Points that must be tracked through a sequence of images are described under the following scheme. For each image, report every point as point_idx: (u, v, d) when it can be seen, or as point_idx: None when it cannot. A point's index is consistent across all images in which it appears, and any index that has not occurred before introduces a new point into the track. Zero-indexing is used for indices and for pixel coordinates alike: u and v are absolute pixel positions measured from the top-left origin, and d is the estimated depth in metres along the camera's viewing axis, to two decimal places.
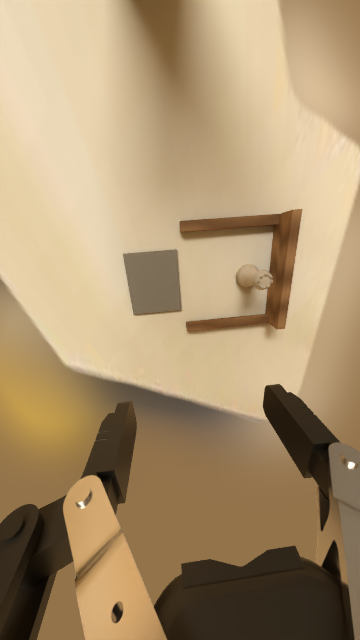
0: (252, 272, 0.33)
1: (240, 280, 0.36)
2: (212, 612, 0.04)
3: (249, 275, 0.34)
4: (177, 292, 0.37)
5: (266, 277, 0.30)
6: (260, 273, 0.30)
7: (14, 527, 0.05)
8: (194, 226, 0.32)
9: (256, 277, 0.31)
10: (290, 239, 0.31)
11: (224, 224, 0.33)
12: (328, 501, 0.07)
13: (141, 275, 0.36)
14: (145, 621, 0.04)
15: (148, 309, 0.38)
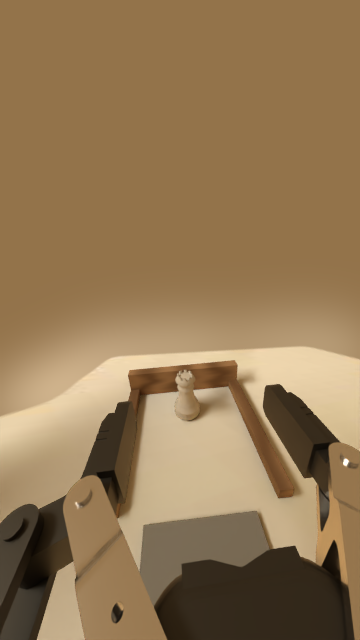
0: (180, 396, 0.30)
1: (191, 411, 0.30)
2: (212, 612, 0.04)
3: (183, 398, 0.30)
4: (222, 521, 0.19)
5: (181, 375, 0.30)
6: (177, 381, 0.29)
7: (13, 528, 0.05)
8: None
9: (181, 383, 0.28)
10: (151, 372, 0.35)
11: None
12: (328, 501, 0.07)
13: None
14: (145, 621, 0.04)
15: None
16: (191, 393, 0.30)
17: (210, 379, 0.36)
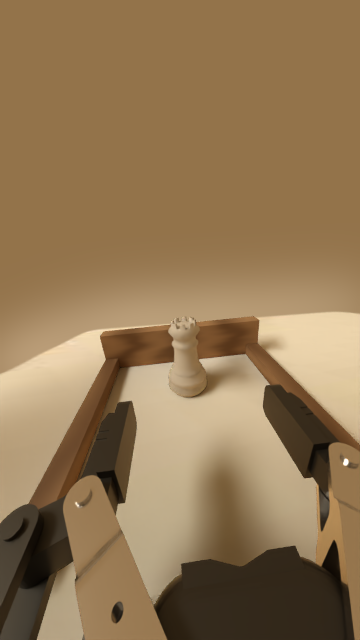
0: (176, 357, 0.19)
1: (195, 382, 0.19)
2: (212, 612, 0.04)
3: (181, 360, 0.19)
4: None
5: (177, 323, 0.19)
6: (171, 331, 0.18)
7: (14, 528, 0.05)
8: None
9: (178, 333, 0.17)
10: (134, 332, 0.24)
11: (83, 424, 0.15)
12: (328, 501, 0.07)
13: None
14: (145, 621, 0.04)
15: None
16: (194, 352, 0.19)
17: (220, 343, 0.25)
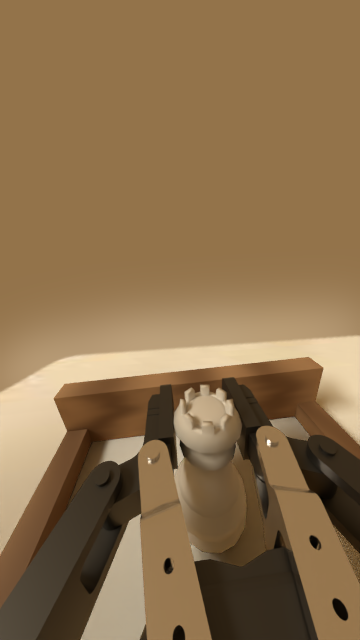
0: (189, 472, 0.09)
1: (228, 526, 0.09)
2: (212, 612, 0.04)
3: (201, 484, 0.09)
4: None
5: (192, 406, 0.09)
6: (181, 430, 0.08)
7: (103, 477, 0.06)
8: None
9: (197, 443, 0.07)
10: (114, 389, 0.14)
11: None
12: (264, 483, 0.08)
13: None
14: (190, 592, 0.04)
15: None
16: (227, 465, 0.09)
17: None
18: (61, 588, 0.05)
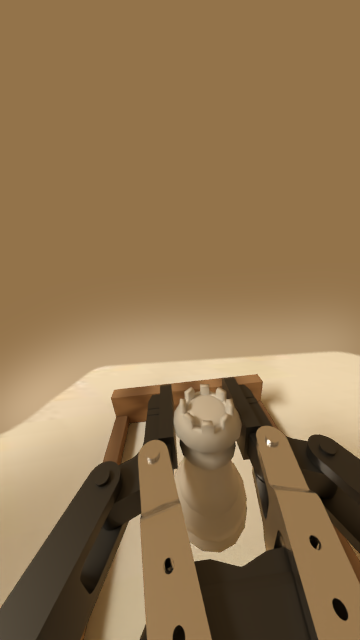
0: (188, 471, 0.09)
1: (228, 525, 0.09)
2: (212, 612, 0.04)
3: (201, 483, 0.09)
4: None
5: (192, 406, 0.09)
6: (181, 429, 0.08)
7: (103, 477, 0.06)
8: None
9: (197, 442, 0.07)
10: (143, 393, 0.25)
11: None
12: (263, 483, 0.08)
13: None
14: (190, 591, 0.04)
15: None
16: (227, 465, 0.09)
17: None
18: (61, 588, 0.05)
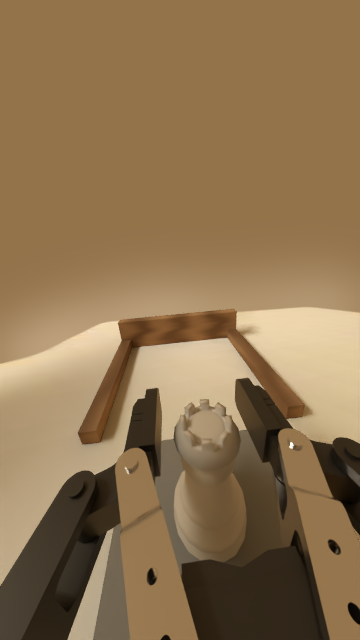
0: (189, 485, 0.10)
1: (228, 538, 0.09)
2: (212, 612, 0.04)
3: (201, 497, 0.09)
4: None
5: (192, 422, 0.09)
6: (182, 446, 0.08)
7: (76, 488, 0.06)
8: (98, 409, 0.19)
9: (197, 460, 0.08)
10: (143, 320, 0.32)
11: (113, 375, 0.24)
12: (283, 486, 0.08)
13: None
14: (175, 597, 0.04)
15: None
16: (227, 479, 0.09)
17: (207, 328, 0.34)
18: (34, 611, 0.04)
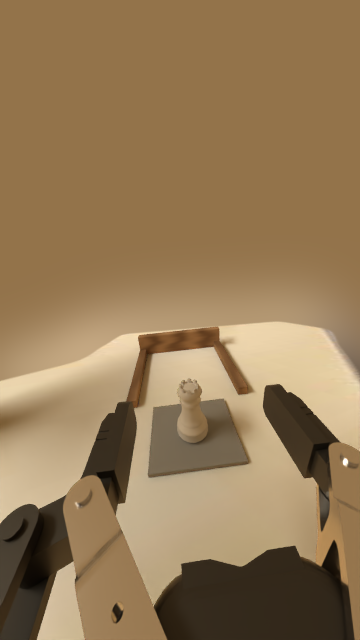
0: (183, 412, 0.24)
1: (198, 432, 0.24)
2: (212, 612, 0.04)
3: (187, 415, 0.24)
4: (201, 403, 0.31)
5: (184, 386, 0.24)
6: (180, 394, 0.23)
7: (13, 528, 0.05)
8: (134, 390, 0.34)
9: (185, 397, 0.22)
10: (155, 335, 0.47)
11: (139, 372, 0.39)
12: (328, 501, 0.07)
13: (181, 446, 0.24)
14: (145, 621, 0.04)
15: (232, 436, 0.25)
16: (197, 408, 0.24)
17: (199, 340, 0.48)
18: None
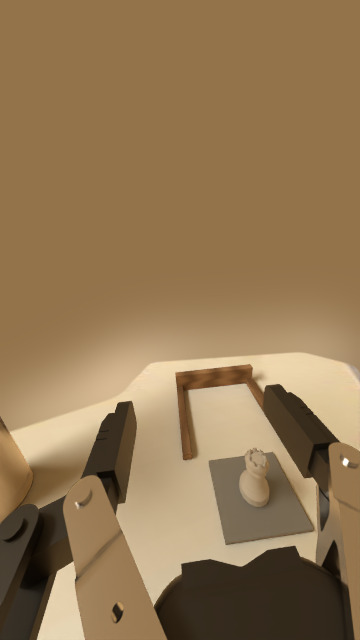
0: (250, 479, 0.27)
1: (264, 497, 0.26)
2: (212, 612, 0.04)
3: (255, 483, 0.26)
4: None
5: (252, 457, 0.26)
6: (250, 466, 0.25)
7: (13, 528, 0.05)
8: (186, 441, 0.36)
9: (256, 471, 0.25)
10: (192, 374, 0.49)
11: (184, 417, 0.41)
12: (328, 501, 0.07)
13: (247, 509, 0.27)
14: (145, 621, 0.04)
15: (292, 499, 0.27)
16: None
17: (233, 378, 0.51)
18: None
